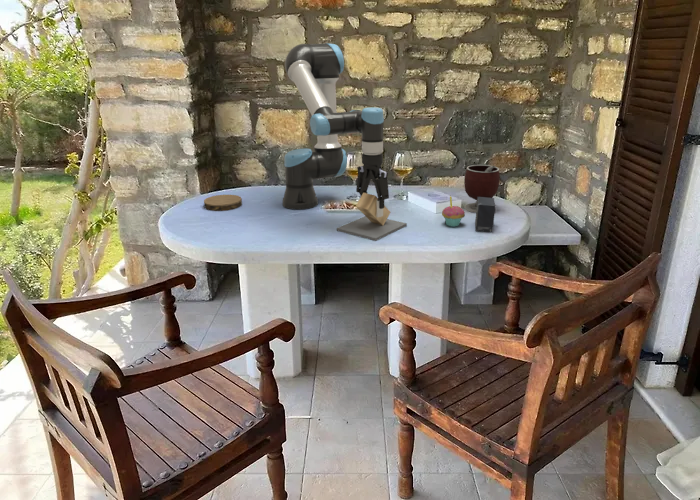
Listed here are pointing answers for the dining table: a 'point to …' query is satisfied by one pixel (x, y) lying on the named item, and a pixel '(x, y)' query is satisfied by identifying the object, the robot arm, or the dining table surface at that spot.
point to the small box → (485, 214)
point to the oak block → (372, 208)
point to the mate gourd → (480, 183)
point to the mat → (371, 228)
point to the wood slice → (223, 202)
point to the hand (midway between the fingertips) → (372, 213)
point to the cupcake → (453, 214)
